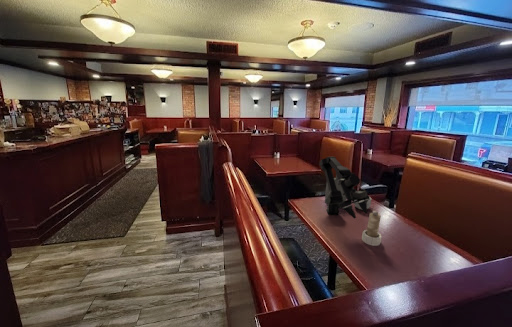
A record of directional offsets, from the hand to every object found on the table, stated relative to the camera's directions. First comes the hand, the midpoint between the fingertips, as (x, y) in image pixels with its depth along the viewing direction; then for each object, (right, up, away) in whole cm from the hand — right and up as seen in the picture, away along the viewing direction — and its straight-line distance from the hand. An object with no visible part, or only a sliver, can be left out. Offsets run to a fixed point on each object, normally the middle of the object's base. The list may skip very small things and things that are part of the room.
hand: (361, 216), depth 123 cm
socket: (+2, -12, -6) cm, 13 cm away
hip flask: (0, +1, +40) cm, 40 cm away
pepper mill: (+2, -11, -6) cm, 13 cm away
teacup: (+16, -2, +32) cm, 36 cm away
